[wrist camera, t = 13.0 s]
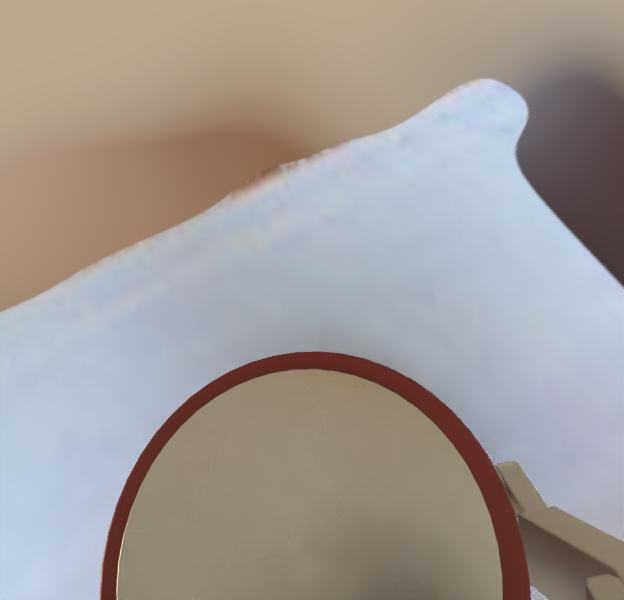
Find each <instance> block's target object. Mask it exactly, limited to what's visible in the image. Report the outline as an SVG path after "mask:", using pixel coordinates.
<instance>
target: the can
mask: <svg viewBox="0 0 624 600" xmlns="http://www.w3.org/2000/svg"><path fill="white" fill-rule="evenodd" d="M100 600H531V599H530V577H529V571H528V565H527V559H526V553H525V547H524V542H523V538H522V535H521V531H520V528H519V524H518V521H517V517H516V514H515V511H514V508H513V506H512V503H511V501H510V498H509V496H508V494H507V491H506V489H505V486H504V484H503V482H502V480H501V478H500V476H499V474H498V473H497V471H496V469H495V467H494V465H493V464H492V462H491V460H490V458H489V456H488V455H487V453H486V452H485V450H484V449H483V448H482V446H481V445H480V443H479V442H478V441H477V439H476V438H475V436H474V435H473V434H472V432H471V431H470V430H469V429H468V428H467V427H466V425H465V424H464V423H463V422H462V421H461V420H460V419H459V418H458V417H457V416H456V414H455V413H454V412H453V411H452V410H451V409H450V408H448V407H447V406H446V405H445V404H444V403H443V402H442V401H440V400H439V399H438V398H437V397H436V396H435V395H433V394H432V393H431V392H430V391H428V390H427V389H425V388H424V387H422V386H421V385H419V384H418V383H416V382H415V381H413V380H412V379H410V378H408V377H406V376H404V375H402V374H400V373H399V372H397V371H395V370H393V369H391V368H389V367H386V366H383V365H381V364H378V363H375V362H372V361H370V360H367V359H363V358H359V357H354V356H350V355H345V354H339V353H329V352H295V353H289V354H283V355H276V356H272V357H268V358H265V359H261V360H258V361H254V362H251V363H249V364H246V365H244V366H242V367H239V368H237V369H235V370H232V371H230V372H228V373H226V374H225V375H223V376H221V377H219V378H218V379H216V380H214V381H212V382H211V383H209V384H208V385H206V386H205V387H204V388H202V389H201V390H200V391H198V392H197V393H196V394H194V395H193V396H191V397H190V398H189V399H188V400H187V401H186V402H185V403H184V404H183V405H182V406H180V407H179V408H178V409H177V410H176V411H175V412H174V413H173V414H172V415H171V416H170V417H169V418H168V420H167V421H166V422H165V423H164V424H163V425H162V427H161V428H160V429H159V430H158V431H157V432H156V433H155V435H154V436H153V438H152V439H151V441H150V442H149V444H148V445H147V446H146V448H145V449H144V451H143V452H142V454H141V455H140V457H139V459H138V461H137V462H136V464H135V466H134V468H133V470H132V472H131V473H130V475H129V477H128V479H127V481H126V484H125V486H124V488H123V491H122V493H121V496H120V498H119V500H118V503H117V505H116V509H115V512H114V515H113V519H112V522H111V525H110V528H109V532H108V536H107V542H106V547H105V552H104V557H103V562H102V573H101V584H100Z"/></svg>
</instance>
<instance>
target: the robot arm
mask: <svg viewBox="0 0 624 600" xmlns="http://www.w3.org/2000/svg"><path fill="white" fill-rule="evenodd" d="M494 467H495V469H496V471H497V473H498V474H499V476H500V478H501V480H502V482H503V484H504V486H505V489H506V491H507V494H508V496H509V498H510V501H511V503H512V506H513V508H514V511H515V514H516V517H517V521H518V524H519V528H520V531H521V535H522V538H523V542H524V547H525V553H526V559H527V565H528V571H529V577H530V584H531V585H532V586H534V587H535V588H536V589H537V590H538V591H540V592H541V593H542V594H543V595H544V596H546V597H547V598H548V599H549V600H624V542H622V541H620V540H618V539H616V538H614V537H612V536H611V535H609V534H607V533H605V532H603V531H601V530H599V529H597V528H595V527H593V526H591V525H589V524H587V523H585V522H583V521H581V520H579V519H578V518H576V517H574V516H572V515H570V514H568V513H566V512H564V511H562V510H560V509H558V508H556V507H549V508H548V507H547V505H546V504H545V502H544V501H543V499H542V498H541V496H540V495H539V494H538V492H537V491H536V489H535V488H534V486H533V485H532V483H531V482H530V480H529V479H528V477H527V476H526V474H525V473H524V471H523V470H522V468H521V467H520V466H519V464H518V463H517V462H515V461H510V462H505V463H501V464H496V465H494Z"/></svg>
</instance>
